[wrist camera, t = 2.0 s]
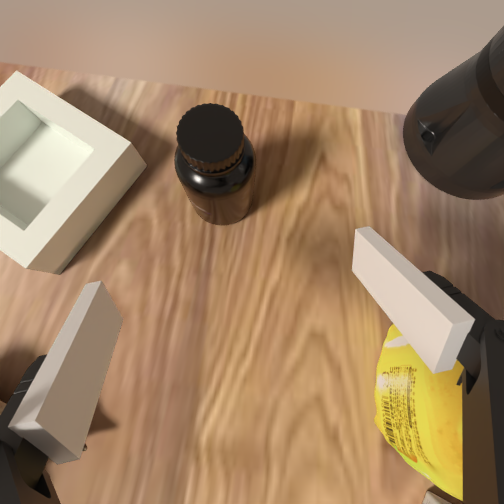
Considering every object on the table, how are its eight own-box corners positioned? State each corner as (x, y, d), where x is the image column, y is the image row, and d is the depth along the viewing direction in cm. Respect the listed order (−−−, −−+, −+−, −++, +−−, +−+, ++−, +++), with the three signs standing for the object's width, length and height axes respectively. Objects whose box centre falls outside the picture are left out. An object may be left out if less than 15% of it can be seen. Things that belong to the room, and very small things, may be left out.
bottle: (370, 309, 29) (635, 309, 9) (431, 320, 29) (832, 345, 9) (359, 434, 26) (685, 802, 7) (425, 448, 26) (956, 861, 7)
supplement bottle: (185, 220, 30) (146, 163, 19) (201, 165, 32) (174, 80, 20) (246, 233, 30) (245, 185, 18) (259, 177, 32) (267, 99, 20)
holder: (147, 165, 32) (131, 142, 27) (59, 274, 29) (25, 268, 24) (47, 102, 33) (16, 70, 29) (-46, 200, 30) (-95, 182, 26)
